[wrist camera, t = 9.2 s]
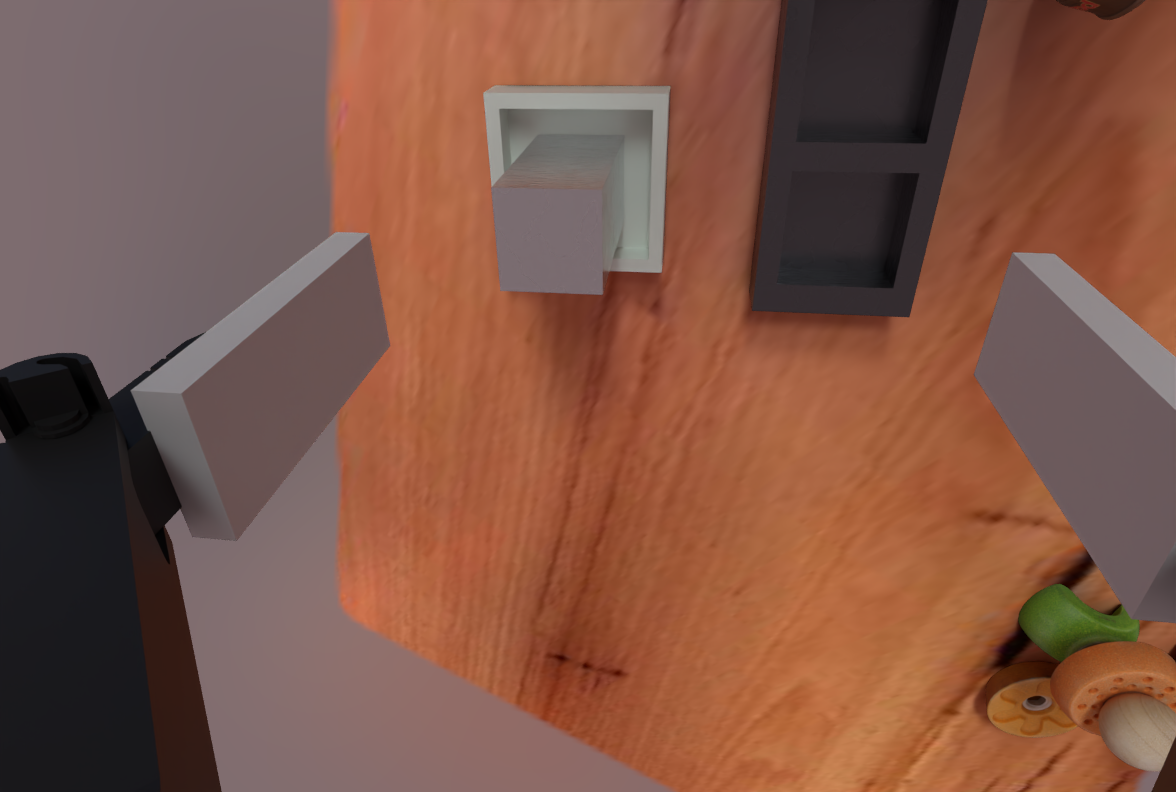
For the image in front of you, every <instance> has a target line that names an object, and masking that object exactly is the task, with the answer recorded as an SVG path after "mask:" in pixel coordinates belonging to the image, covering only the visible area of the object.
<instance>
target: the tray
mask: <svg viewBox="0 0 1176 792" xmlns="http://www.w3.org/2000/svg"><path fill="white" fill-rule="evenodd" d="M670 88H671V86H515V85H495V86H493V87H491V88H490V89H488V90H487V91H485V92H484V93H483V94H484V105H485V117H486V128H487V139H488V150H489V162H490V173H491V184H492V186H493V185H494V184H495V183H496V182H497V180H498V179H499V178H500V177H501V176H502V175H503V174H504V173H505V171H506V170H507V169H508V168H509V167H510V166H511V165H512V163H513V162H514V161H515V160H516V159H517V158H518V157H519V156H520V154H521V153H522V152H523V151H524V150H525V149H526V148H527V146H528V145H529V144H530V143H531V142H532V141H533V140H534V139H535V137H536V136H537V135H538V134H568V135H625V141H624V222H623V225H622V229H621V232H620V236H619V239H618V243H617V246H616V250H615V253H614V257H613V260H612V264H611V267H610V271H624V272H652V273H662V265H663V256H664V232H665V208H666V184H667V160H668V136H669V112H670Z"/></svg>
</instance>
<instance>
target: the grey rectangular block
mask: <svg viewBox="0 0 1176 792" xmlns="http://www.w3.org/2000/svg"><path fill="white" fill-rule="evenodd" d="M624 141H625V135H568V134H538V135H537V136H536V137H535V139H534V140H533V141H532V142H531V143H530V144H529V145H528V146H527V148H526V149H525V150H524V151H523V152H522V153H521V154H520V156H519V157H518V158H517V159H516V160H515V161H514V162H513V163H512V165H511V166H510V167H509V168H508V169H507V170H506V171H505V173H504V174H503V175H502V176H501V177H500V178H499V179H498V180H497V182H496V183H495V184H494V185H493V186H492V187H491V189H492V201H493V212H494V223H495V235H496V246H497V257H498V268H499V280H500V291H519V292H545V293H570V294H595V295H603V292H604V289H605V285H606V282H607V278H608V275H609V271H610V267H611V264H612V260H613V257H614V253H615V250H616V246H617V243H618V239H619V236H620V232H621V229H622V225H623V222H624Z"/></svg>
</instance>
